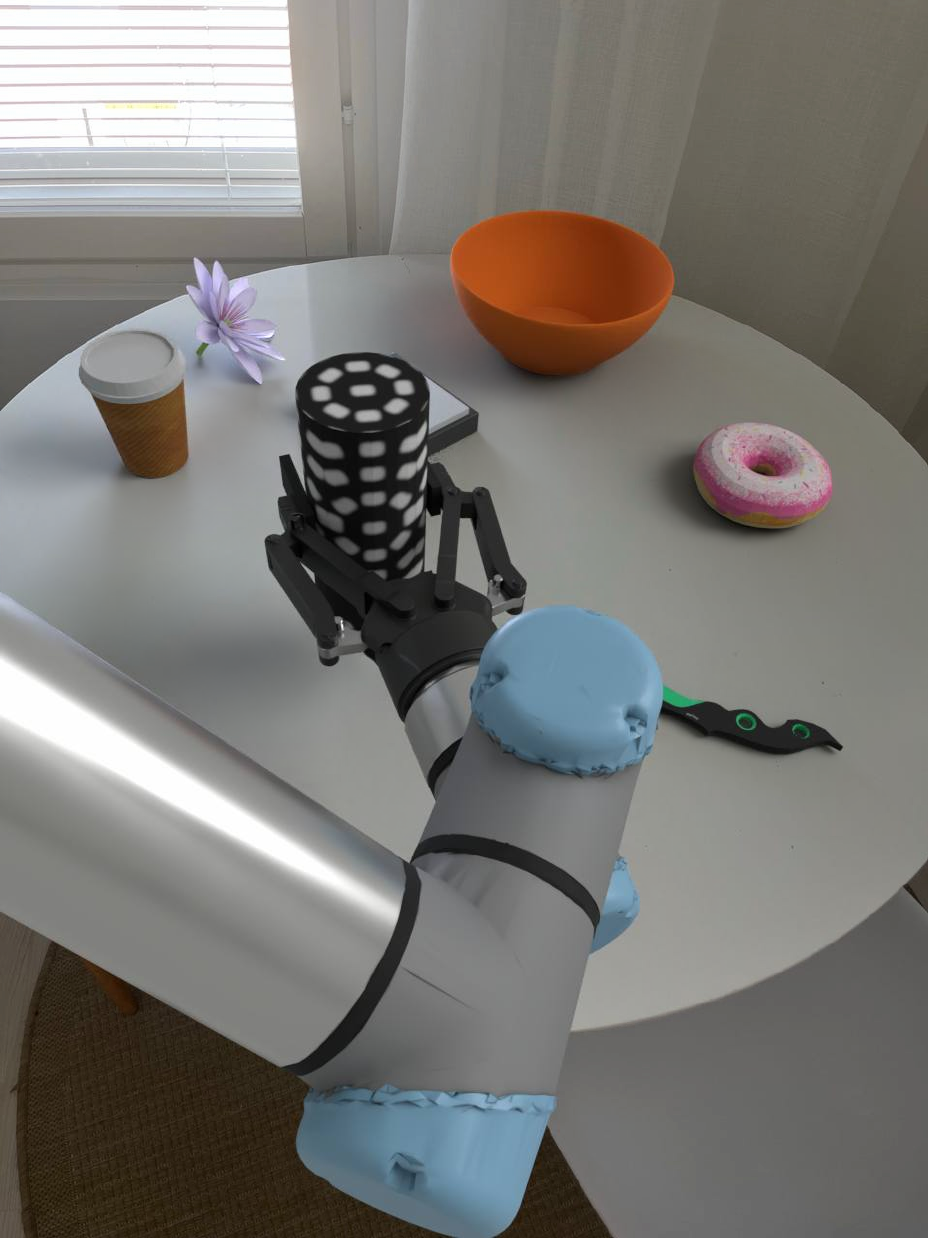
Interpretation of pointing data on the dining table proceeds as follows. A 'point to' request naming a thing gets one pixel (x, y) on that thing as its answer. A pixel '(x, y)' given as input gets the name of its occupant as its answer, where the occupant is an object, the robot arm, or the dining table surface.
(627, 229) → the bowl
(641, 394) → the dining table surface
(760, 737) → the knife
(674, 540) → the dining table surface
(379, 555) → the white-spotted black cylinder
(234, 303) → the water lily
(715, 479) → the donut
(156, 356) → the disposable coffee cup
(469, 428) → the scale
